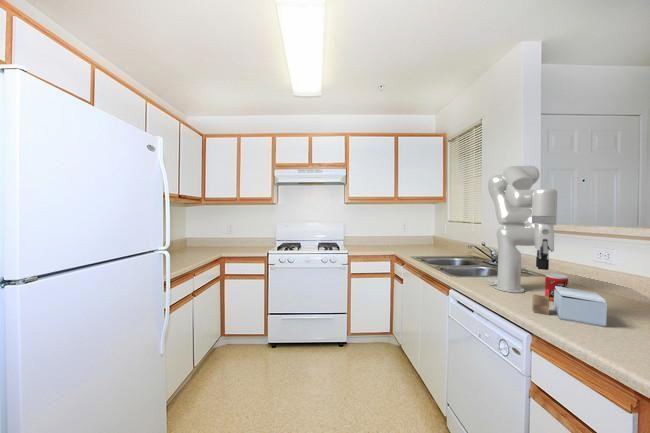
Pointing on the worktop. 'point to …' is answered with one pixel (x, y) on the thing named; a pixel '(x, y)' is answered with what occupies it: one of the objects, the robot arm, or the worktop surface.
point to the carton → (580, 310)
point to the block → (540, 304)
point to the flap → (580, 294)
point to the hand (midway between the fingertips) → (542, 267)
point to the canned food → (554, 284)
